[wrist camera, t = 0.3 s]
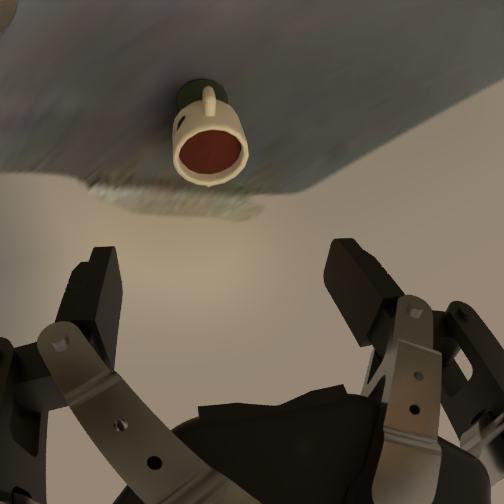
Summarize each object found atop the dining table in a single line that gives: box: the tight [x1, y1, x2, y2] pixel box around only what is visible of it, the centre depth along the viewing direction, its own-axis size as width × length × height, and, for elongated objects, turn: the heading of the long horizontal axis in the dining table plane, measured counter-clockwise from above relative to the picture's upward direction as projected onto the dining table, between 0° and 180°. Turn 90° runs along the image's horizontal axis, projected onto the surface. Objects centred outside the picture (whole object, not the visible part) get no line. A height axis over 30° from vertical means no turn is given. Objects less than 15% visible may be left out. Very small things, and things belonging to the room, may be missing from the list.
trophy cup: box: [172, 79, 249, 187], centre depth 32 cm, size 11×7×13 cm, turn 174°
